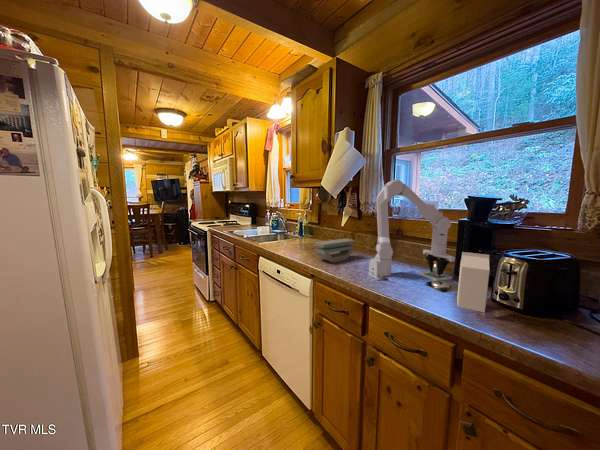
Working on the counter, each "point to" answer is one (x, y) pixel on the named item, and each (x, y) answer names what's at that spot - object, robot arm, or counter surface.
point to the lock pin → (435, 270)
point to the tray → (446, 277)
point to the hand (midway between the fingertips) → (436, 273)
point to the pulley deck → (453, 288)
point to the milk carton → (473, 281)
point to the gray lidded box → (335, 249)
